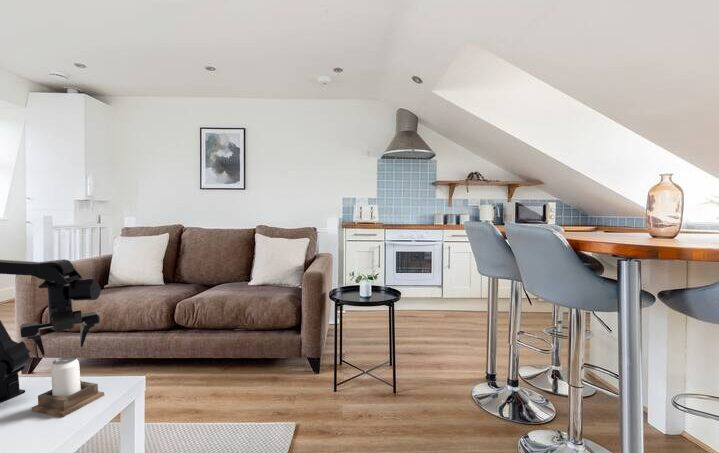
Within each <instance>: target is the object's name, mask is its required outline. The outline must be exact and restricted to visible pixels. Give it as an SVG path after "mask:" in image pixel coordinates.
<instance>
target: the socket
mask: <svg viewBox="0 0 719 453" xmlns="http://www.w3.org/2000/svg"><path fill="white" fill-rule="evenodd" d="M98 384H99V383H94V382H88V381H81V380H80V386H81V390H80V391H78V392H76V393H74V394H72V395H69V396H67V397H65V398H64V397H58V396H53V395H52V389H49V390H47V391H45V392H43V393H40V394H38V395H37V404H36V405H34V406H32V407H31V412H36V413H41V414H46V415H50V416H51V415H52V416H56V417H60V418H64V417H66V416H68V415H70V414H72V413H73V412H77V411H78V410H80V409H82V408H83V407H85V406H87V405H89V404H91V403H92V402H94V401H97V400H98V399H101V398H102V397H105V392H104V391H100V390H99V387H98V386H99V385H98Z"/></svg>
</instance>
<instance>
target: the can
mask: <svg viewBox="0 0 719 453" xmlns="http://www.w3.org/2000/svg"><path fill="white" fill-rule="evenodd" d="M80 370H81V369H80V361H79V360H78V357H77V356H76V355H68V356H64V357H59V358H57V359H54V360H53V361H52V365H51V368H50V374H51V377H50V378H51V390H52V395H53V396H58V397H64V398H65V397H67V396H69V395H72V394H74V393H76V392H78V391H80V390H81V386H80V381H81V372H80Z"/></svg>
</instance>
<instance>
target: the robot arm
mask: <svg viewBox="0 0 719 453" xmlns="http://www.w3.org/2000/svg"><path fill="white" fill-rule="evenodd" d="M0 275H13V276H15V275H17V276H31V277H35V278H37V279H39V280H44V281H43V282H42V283H41V284H40V285H38V288H39V289H46V292H47V305H48V308H47V309H48V322H45V323H38V321H32V322H28V323H27V322H26V323H22V324H20V326H19V331H20V338H26V339H27V340H32V341H33V342H35V344H36V345H37V347H38V349H39V352H40V353H41V355H42V356H43V357H44V356H45V348H44V344H43V341H42V337H41V335H42V334H41V332H42V331H46V330H50V329H53V331H54V332H61V331H65V330H73V329H74V328H75V325H79V324H80V335H79V345H80V346H79V347H80V348H83V346H84V343H85V342H86V337H87V335H88V332H89V331H90V329H91V328H94V327H95V325H96V324H100V321H101V320H100V315H99V314H98V313H97V312H96V311H92V312H91V311H90V312H86V313H85V312H84V313H82V310H81V309H80V310H74V311H73V301H74V302H75V301H76V302H78V301H79V302H80V301H97V300H98V299H99V297H100V295H101V290H102V289H101V288H102V287H101V286H100V283H99V282H98V281H97V278H96V277H89V278H83V276H82V275H81V273H79V271H78V270H76V268H75V267H74V265H73V263H72V262H71V260H69V259H57V260H55V259H54V260H45V261H29V260H28V261H27V260H26V261H25V260H23V261H22V260H11V259H10V260H9V259H0ZM2 322H3V321H2V320H1V319H0V403H3V402H5V401H8V400H10V399H12V398H14V397H17V396H19V395H22V394H24V393H26V390H25V389H22V388H21V389H20V378H19V373H20V372H21V371H23V370H25V367H26V365H27V364H28V362H29V360H30V358H31V356H30V353H31V350H29V349H28V348H27V346H26V343H25V342H24V341H22V340H21V341H20V342H17V341H15V340H13V339H12V338H11V336H10V334H9V332H8V331H7V329H6V327H5V326H4V324H3V323H2Z"/></svg>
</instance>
